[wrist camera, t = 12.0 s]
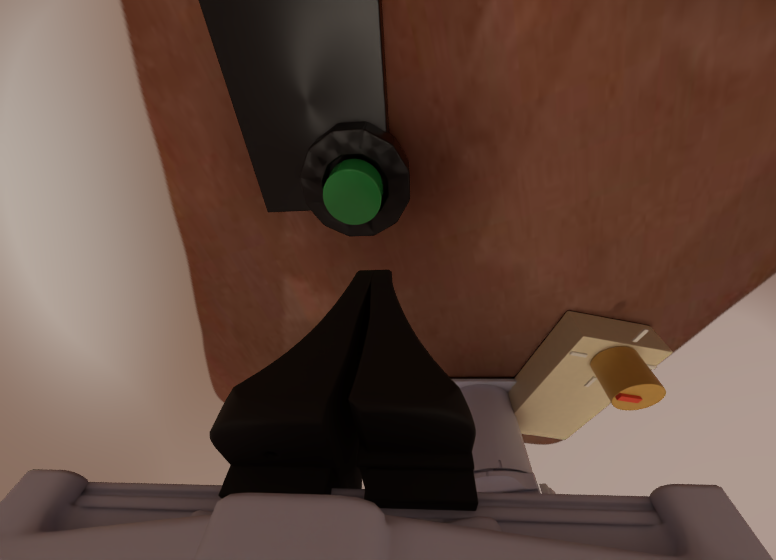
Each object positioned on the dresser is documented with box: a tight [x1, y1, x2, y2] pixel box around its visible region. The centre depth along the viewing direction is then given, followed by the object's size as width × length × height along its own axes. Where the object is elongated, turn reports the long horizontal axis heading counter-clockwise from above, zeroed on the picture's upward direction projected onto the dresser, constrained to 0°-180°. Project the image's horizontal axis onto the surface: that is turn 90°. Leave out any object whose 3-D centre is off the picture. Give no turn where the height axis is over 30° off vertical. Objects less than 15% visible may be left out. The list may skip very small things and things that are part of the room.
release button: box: [323, 159, 383, 225], centre depth 16 cm, size 3×3×2 cm
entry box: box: [199, 0, 410, 236], centre depth 16 cm, size 13×9×4 cm
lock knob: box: [590, 346, 666, 410], centre depth 24 cm, size 4×4×4 cm
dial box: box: [508, 311, 673, 440], centre depth 30 cm, size 18×8×3 cm, turn 169°
